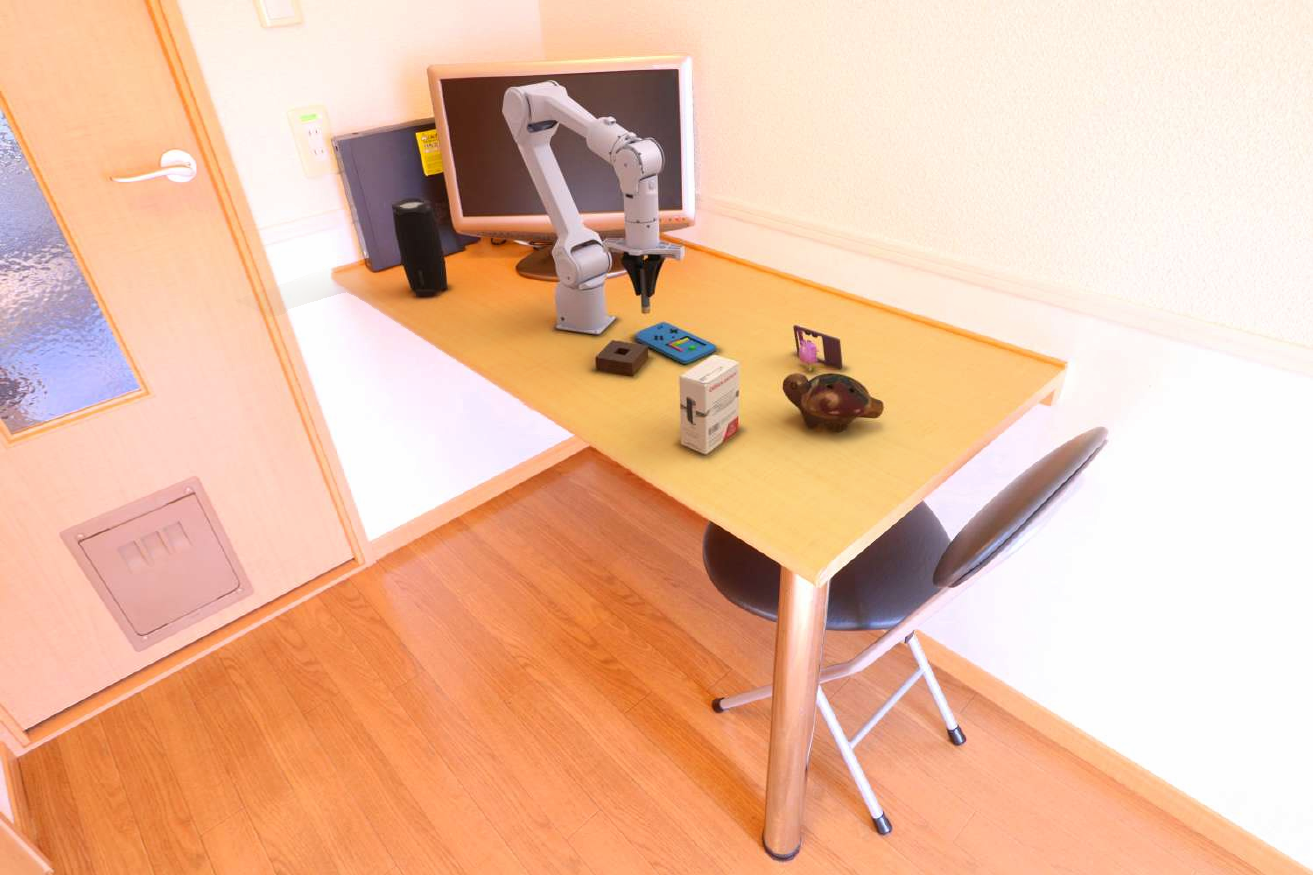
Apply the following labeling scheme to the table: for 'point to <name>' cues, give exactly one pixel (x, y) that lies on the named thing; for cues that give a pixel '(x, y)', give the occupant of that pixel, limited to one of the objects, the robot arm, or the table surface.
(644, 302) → the dark grey cylinder rod
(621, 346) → the brown block with hole
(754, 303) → the table surface
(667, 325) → the handheld gaming device
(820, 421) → the decorative turtle
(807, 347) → the purple frame with figurine
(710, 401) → the ink box
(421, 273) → the portable speaker
